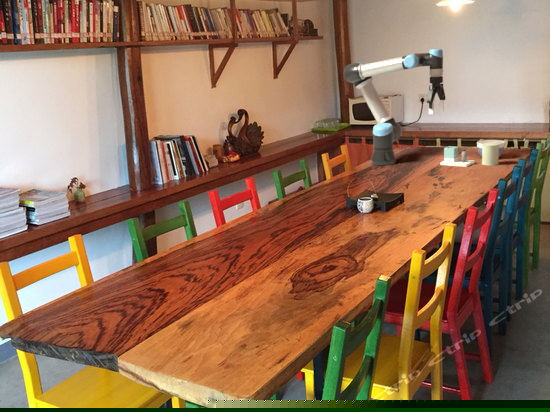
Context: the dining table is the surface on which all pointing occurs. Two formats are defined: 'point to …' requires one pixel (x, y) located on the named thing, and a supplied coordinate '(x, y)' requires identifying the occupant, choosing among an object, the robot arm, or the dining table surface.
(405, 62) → the robot arm
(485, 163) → the can
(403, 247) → the dining table surface
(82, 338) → the dining table surface
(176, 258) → the dining table surface
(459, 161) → the pinboard
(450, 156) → the sleeve
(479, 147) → the bowl
